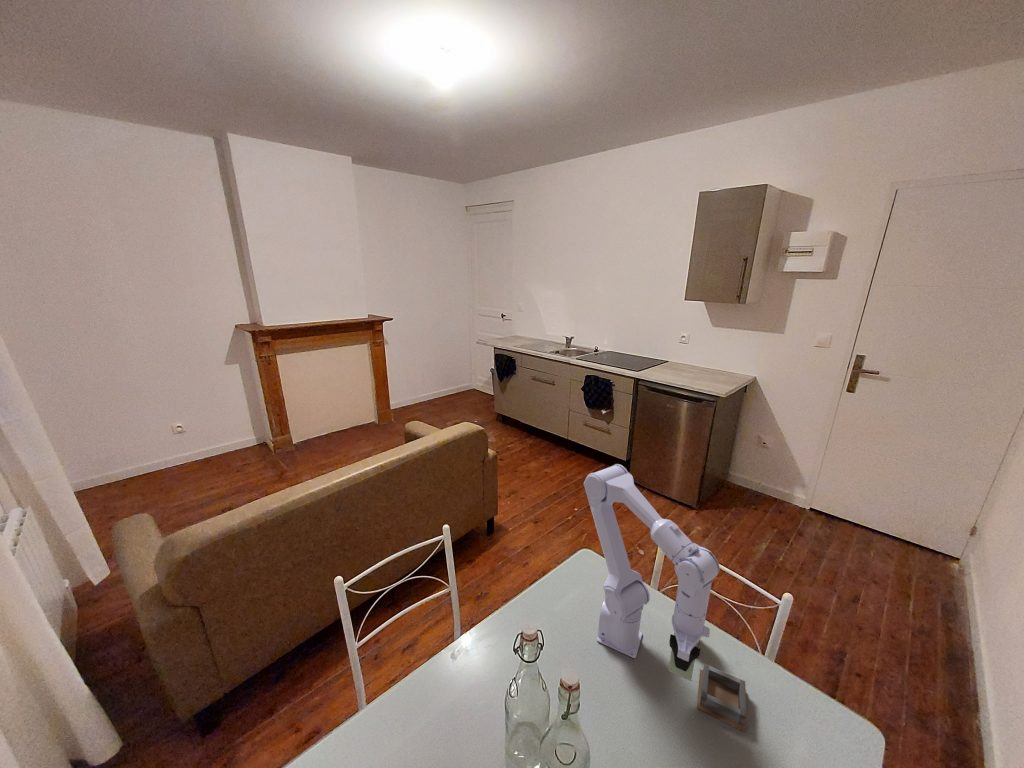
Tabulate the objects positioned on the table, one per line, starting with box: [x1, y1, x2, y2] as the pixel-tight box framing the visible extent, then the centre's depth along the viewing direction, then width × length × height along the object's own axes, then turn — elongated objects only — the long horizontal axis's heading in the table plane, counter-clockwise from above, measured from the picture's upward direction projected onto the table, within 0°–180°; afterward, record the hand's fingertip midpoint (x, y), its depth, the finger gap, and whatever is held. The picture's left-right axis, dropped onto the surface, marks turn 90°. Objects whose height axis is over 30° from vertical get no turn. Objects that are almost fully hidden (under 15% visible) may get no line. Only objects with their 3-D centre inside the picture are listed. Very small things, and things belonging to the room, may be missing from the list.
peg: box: [667, 632, 698, 681], centre depth 81 cm, size 4×4×8 cm
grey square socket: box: [696, 663, 748, 733], centre depth 82 cm, size 9×9×3 cm
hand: (682, 658), depth 81 cm, fingers closed on peg, 4 cm apart
